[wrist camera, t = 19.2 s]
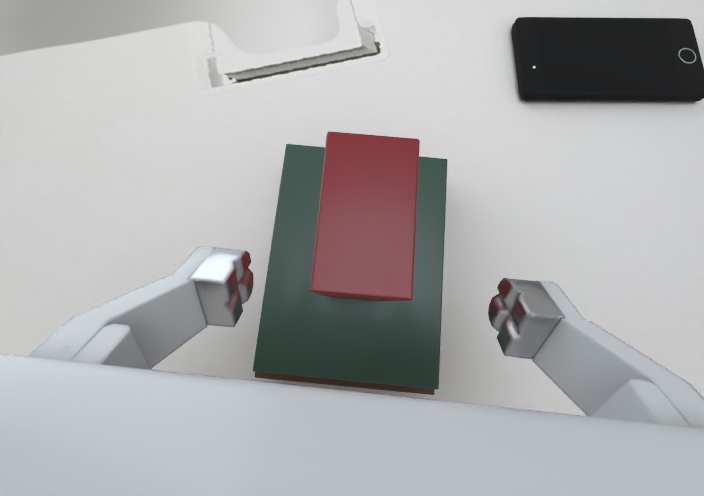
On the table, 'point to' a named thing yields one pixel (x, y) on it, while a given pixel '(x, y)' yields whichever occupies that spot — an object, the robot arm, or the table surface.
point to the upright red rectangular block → (367, 218)
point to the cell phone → (607, 59)
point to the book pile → (349, 314)
